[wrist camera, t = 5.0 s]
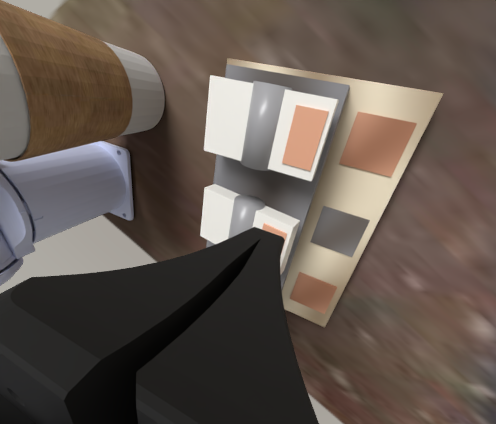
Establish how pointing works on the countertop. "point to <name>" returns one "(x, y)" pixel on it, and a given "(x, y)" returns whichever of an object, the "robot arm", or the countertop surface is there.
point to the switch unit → (333, 178)
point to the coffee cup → (68, 87)
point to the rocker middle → (243, 218)
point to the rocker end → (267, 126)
